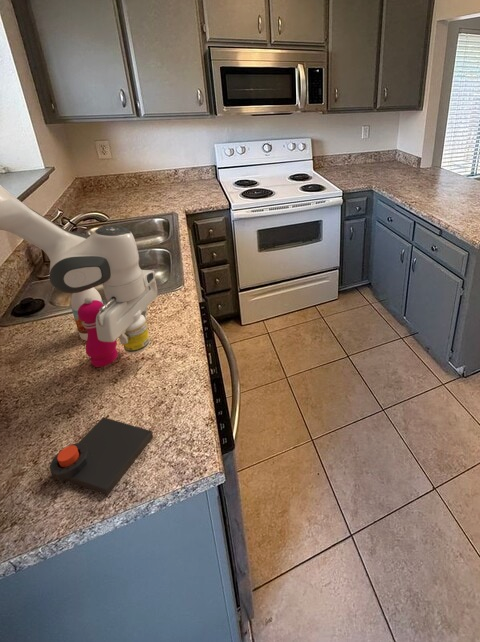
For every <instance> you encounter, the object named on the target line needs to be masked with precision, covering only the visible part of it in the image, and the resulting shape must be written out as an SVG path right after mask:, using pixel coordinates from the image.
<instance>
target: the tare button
mask: <svg viewBox="0 0 480 642" xmlns="http://www.w3.org/2000/svg"><path fill="white" fill-rule="evenodd" d="M70 445H71V444H70ZM62 449H63V450H62ZM62 449H61V450H62V451H61V450H60V451H61V452H60V451H59V452H60V453H59V452H58V453H59V454H58V453H57V454H58V457H57V459H58V462H59V464H60V466H61V467H68V466H70V465H72V464H74V463H75V462H76V461H77V459H78V458H79V452H78V449H77V447H76V446H75V445H71V446H69V445H67V446H66V447H64V448H62Z"/></svg>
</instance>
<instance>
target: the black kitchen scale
mask: <svg viewBox="0 0 480 642" xmlns="http://www.w3.org/2000/svg"><path fill="white" fill-rule="evenodd" d="M153 438H154V435H153V431H152V430H150V429H145V428H143V427H139V426H135V425H132V424H128V423H125V422H121V421H118V420H115V419H111V418H108V417H105V416H103V417H102V418H101V419H100V420H99V421H98V422H97V423H96V424H95V425H94V426H93V427H92V428H91V429H90V430H89V431H88V432H87V433H86V434H85V435H84V436H83V437H82V439H80V440H79V441H78V442H77V443H72V444H70V445H68V446H71V445H75V446H76V447H77V449H78V452H79V458H78V459H77V461H76V462H75V463H74V464H72V465H70V466H68V467H61V466H60V464H59V462H58V459H57V457H58V454H59V453H60V452H61V451H62V450H63V449H64V448H62V449H61V450H59V452H58V453H57V454H56V455H54V457H53V458H52V460H51V462H50V464H49V470H50V474H51V477H52V479H54V480H57V481H65V482H67V483H71V484H74V485H77V486H78V487H81V488H84V489H88V490H90V491H92V492H96V493H97V494H98V493H99V494H101V495H104V496H107V497H108V496H109V495H110V494H111V493H112V492H113V490H114V489H115V487H116V486H117V485H118V484H119V482H120V481H121V480H122V478H123V477H124V476H125V475H126V473H127V472H128V470H129V469H130V468H131V467H132V465H133V464H134V463H135V461H137V459H138V458H139V456H141V454H142V453H143V451H144V450H145V449H146V447H147V446H148V445H149V443H150V442H151V441H152V440H153ZM100 492H101V493H100Z"/></svg>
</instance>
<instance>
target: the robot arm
mask: <svg viewBox="0 0 480 642" xmlns="http://www.w3.org/2000/svg"><path fill="white" fill-rule="evenodd" d="M0 231H4V232H8V233H11V234H13V235H15V236H16V237H19V238H20V239H22V240H24V241H25V242H27V243H29V244H31V245H33V246H35V247H36V248H38V249H40V250H42V251H43V252H44V253H45V254H46V256H47V257H48V259H49V261H50V262H49V274H48V278H49V282H50V284H51V286H52V287H53V288H55V289H56V290H57V291H60V292H62V293H66V294H73V293H78V292H82V291H85V290H88V289H91V288H93V287H94V288H95V287H98V286H100V285H102V288H103V293H104V295H105V299H106V300H107V301H106V302H105V303H103V306H102V307H101V308H100V309H99V310H100V311H99V312H98V314H97V316H96V330H97V336H98V339H99V340H100V341H103V342H114V341H115V340H116V341H117V339H118V340H119V343H120V344H122V345H123V344H127V343H128V342H129V340H130V336H129V335H125V334H124V333H125V332H126V331H125V330H126V329H127V328H128V327H129V326H130V325H131V324H132V323H133V321H134V318H133V316H134V315H135V314H136V313H137V312H138V311H139V310H140V311H141V315H143V316H144V317H145V320H146V323H147V321H148V320H147V315H148V310H149V309H148V307H149V306H150V305H151V304H152V302H154V301H155V300H156V299H157V298H158V297H157V296H158V285H157V281H156V278H155V277H156V272H155V270H150V269H141V267H140V265H139V263H140V255H139V250H138V246H137V243H136V239H135V236H134V235H133V233H132V231H130V230H129V229H128V228H126V227H124V226H119V225H106V226H102V227H99V228H96V229H95V230H94V232H93V233H92V234H90V235H86V234H83V233H79V232H75V231H71V230H68V229H65V228H63V227H61V226H59V225H58V224H57V223H55V222H53V221H51V220H50V219H48V218H46V217H45V216H44V215H42V214H41V213H39V212H37V211H35V210H34V209H33V208H31V207H29V206H27V205H26V204H24V202H23V201H21V200H20V199H18V198H17V197H16V196H14V195H13V194H12V193H10V191H8V190H7V189H6V188H4V187H3V185H1V184H0Z"/></svg>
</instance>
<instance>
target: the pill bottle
mask: <svg viewBox="0 0 480 642" xmlns="http://www.w3.org/2000/svg"><path fill="white" fill-rule="evenodd" d="M133 318H134V321H133V323H132V324H131V325H130V326H129V327H128V328H127V329H126V330H125V331H126V332H125V333H124V334H125V335H129V336H130V340H129V342H128V343H127V344H122V345H123V350H124V351H125V353H126V354H130V355H132V354H133V355H134V354H139V353H142V352H144V351H145V350H146V349H147V348H149V346H150V343H151V340H150V334H149V329H148V325H147V322H146V320H145V317H144V316H143V315H141V311H140V310H139V311H138V312H137V313H136V314H135V315H134V316H133Z"/></svg>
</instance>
